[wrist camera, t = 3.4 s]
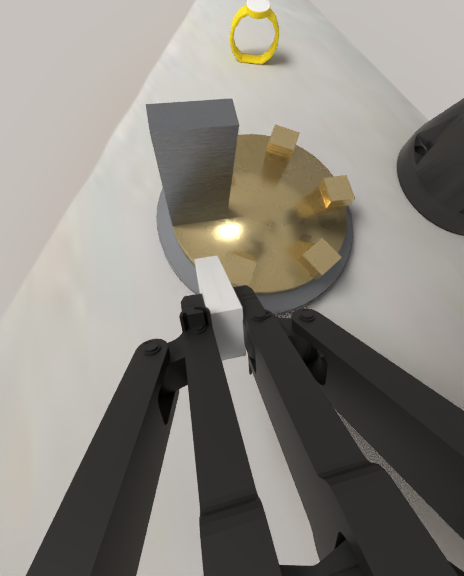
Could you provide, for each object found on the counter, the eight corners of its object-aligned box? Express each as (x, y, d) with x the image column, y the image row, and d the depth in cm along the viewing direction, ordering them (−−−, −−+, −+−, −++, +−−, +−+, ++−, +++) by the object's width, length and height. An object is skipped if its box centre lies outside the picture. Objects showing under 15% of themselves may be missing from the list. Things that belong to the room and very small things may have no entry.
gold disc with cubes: (314, 139, 31) (374, 10, 20) (364, 278, 26) (478, 211, 15) (161, 153, 28) (132, 15, 17) (186, 310, 24) (168, 257, 13)
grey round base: (315, 140, 33) (321, 129, 31) (371, 296, 28) (381, 291, 26) (148, 156, 30) (145, 144, 29) (173, 333, 25) (171, 330, 23)
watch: (229, 67, 36) (229, 10, 30) (230, 53, 37) (230, -6, 31) (274, 69, 36) (283, 12, 30) (274, 54, 37) (282, -4, 31)
